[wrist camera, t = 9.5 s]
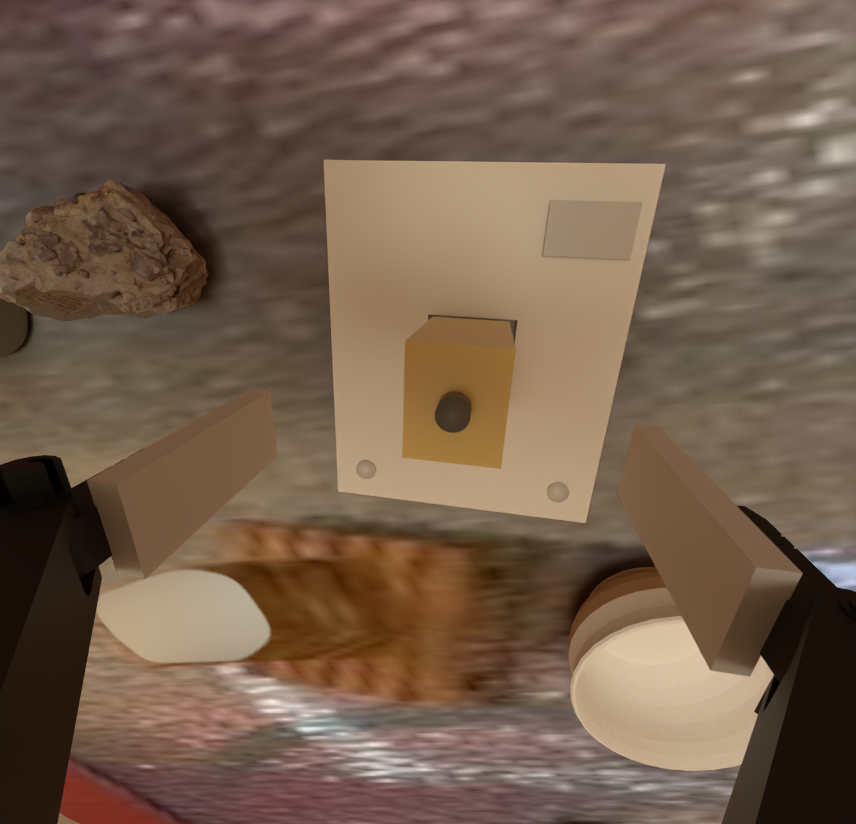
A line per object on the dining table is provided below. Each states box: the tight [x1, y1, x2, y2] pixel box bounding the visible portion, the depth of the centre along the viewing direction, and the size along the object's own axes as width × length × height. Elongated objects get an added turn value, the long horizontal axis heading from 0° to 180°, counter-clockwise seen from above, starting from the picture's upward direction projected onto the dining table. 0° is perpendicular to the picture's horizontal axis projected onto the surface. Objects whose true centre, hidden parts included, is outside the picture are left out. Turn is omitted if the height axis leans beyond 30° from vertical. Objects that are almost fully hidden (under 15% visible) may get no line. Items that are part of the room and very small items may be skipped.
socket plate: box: [324, 160, 666, 523], centre depth 29 cm, size 24×20×4 cm
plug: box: [402, 317, 516, 469], centre depth 24 cm, size 6×5×13 cm
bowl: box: [569, 567, 774, 771], centre depth 33 cm, size 16×16×8 cm
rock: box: [0, 180, 209, 321], centre depth 28 cm, size 9×12×10 cm
